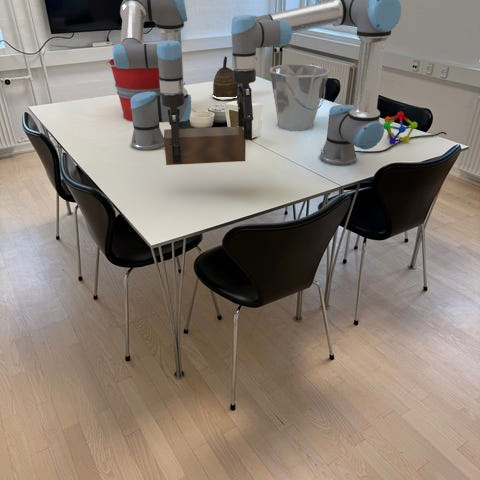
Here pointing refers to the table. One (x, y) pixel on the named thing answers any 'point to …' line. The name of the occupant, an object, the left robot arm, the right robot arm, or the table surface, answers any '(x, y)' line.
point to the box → (207, 145)
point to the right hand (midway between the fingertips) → (245, 132)
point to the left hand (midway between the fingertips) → (177, 157)
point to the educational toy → (398, 128)
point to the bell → (225, 82)
